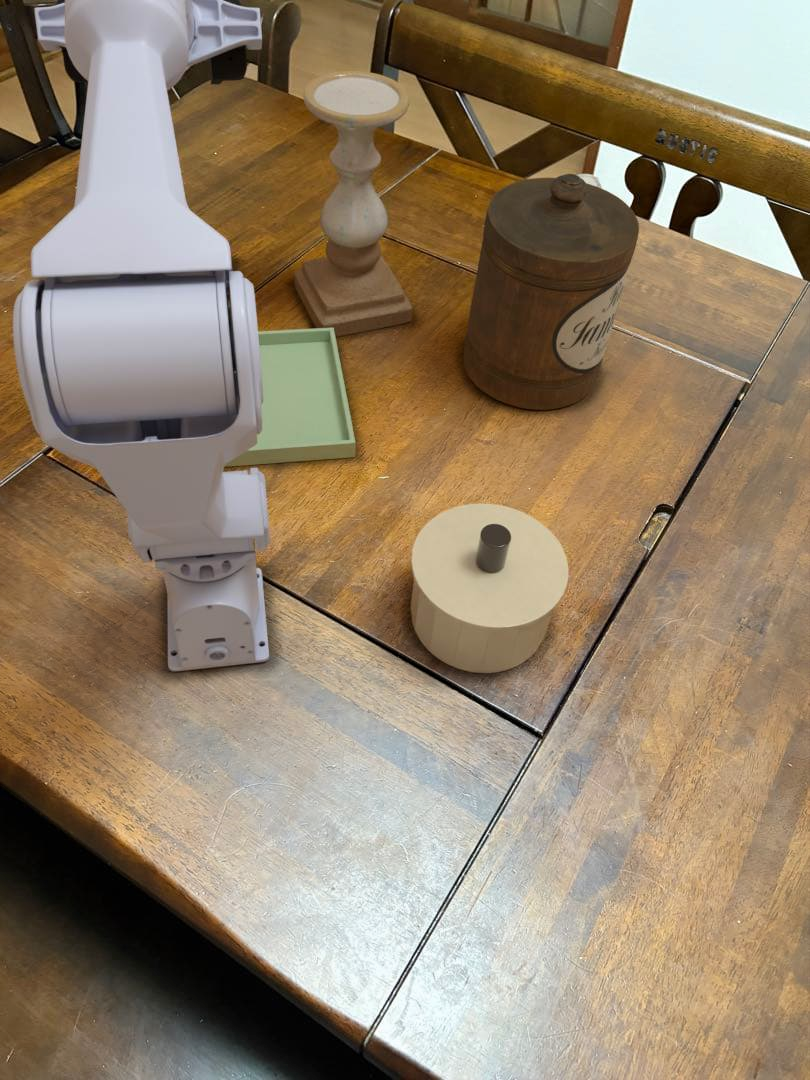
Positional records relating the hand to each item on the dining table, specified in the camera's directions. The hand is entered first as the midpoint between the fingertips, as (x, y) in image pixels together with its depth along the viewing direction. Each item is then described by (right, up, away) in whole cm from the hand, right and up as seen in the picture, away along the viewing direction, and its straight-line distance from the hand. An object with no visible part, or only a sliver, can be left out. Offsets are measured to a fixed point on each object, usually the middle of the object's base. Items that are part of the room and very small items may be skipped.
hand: (163, 71), depth 69 cm
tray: (+4, -21, +25) cm, 33 cm away
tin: (+25, -42, +9) cm, 50 cm away
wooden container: (+32, -17, +31) cm, 48 cm away
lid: (+25, -38, +4) cm, 46 cm away
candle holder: (+12, -8, +36) cm, 39 cm away
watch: (+39, -1, +45) cm, 59 cm away
